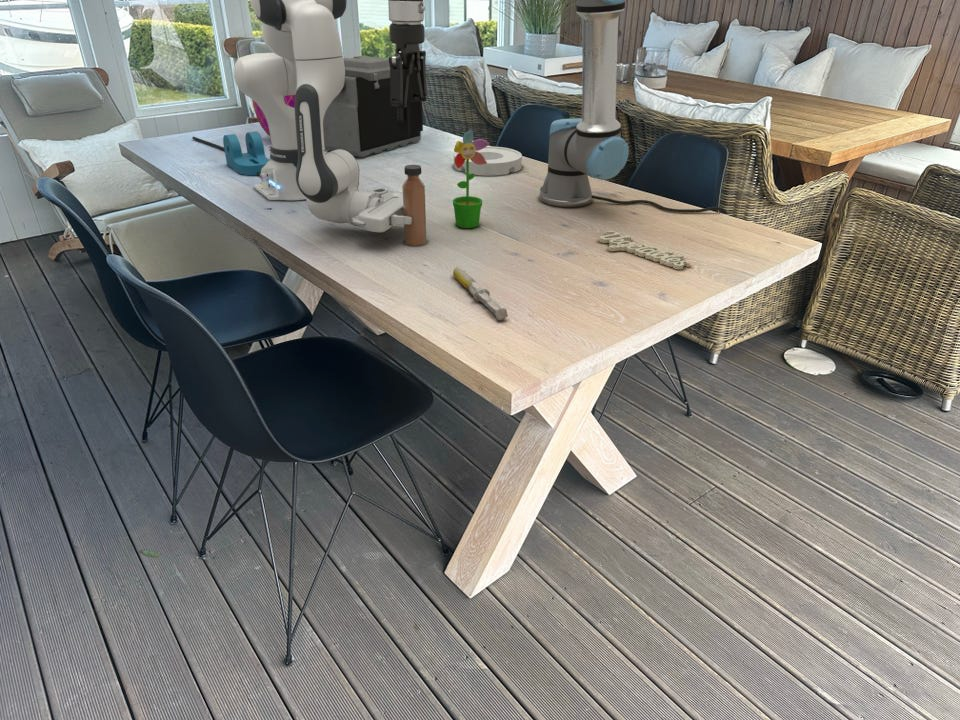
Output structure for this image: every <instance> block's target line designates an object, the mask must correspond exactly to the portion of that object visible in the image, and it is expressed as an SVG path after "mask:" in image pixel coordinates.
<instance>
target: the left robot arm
mask: <svg viewBox="0 0 960 720" xmlns="http://www.w3.org/2000/svg"><path fill="white" fill-rule="evenodd" d="M249 1H250V6H251V8H252V10H253V12H254V14H255V17H256V18H257V19H258V20H259V21H260V22H261V35H262V40H263V42H264V44H265V46H267V48H268V49H269V50H270V51H271V52H260V53H259V52H257V53H252V54H248V55H244V56H240V57H238V58H237V60H236V61H235V64H234V66H233V80H234V82H235V85H236V86H237V88H238V89H239V91H240V92H241V93H242V94H244V95H245V96H247V97H249V98H250V99H251V101H252V100H254V101H255V102H256V103H257V104H258V106H259V107H260V108H261V109H262V111H263V113H264V115H265V117H266V119H267V123H268V127H269V131H270V136H269V137H270V142H271V145H270V146H268V152H269V161H268V162H267V164H266V165H265V166H264V167H263V168H262V169H261V173H260V172H257V175H256V176H258V177H259V178H260V181H261V182H258V183H256V184H255V185H254V189H255V190H256V191H257V192H259V193H260V194H261V195H262V196H264V197H265V198H267V200H269V201H304V200H306V205H307V209H308V211H309V212H310V214H311V215H312V216H314V217H315V218H317V219H319V220H322V221H325V222H331V223H335V224H350V225H352V226H356V227H359V229H361V230H364V231H368V232H372V233H380V234H381V233H385V232H387V231H388V230H389V229H390V228H392V227H393V226H400V225H404V224H408V225H410V224H412V223H413V216H409V215H406V216H404V211H403V192H399V191H389V189H388V188H378V189H374V190H361V189H360V190H359V185H360V165H359V162H358V160H357V158H356V156H353V155H352V154H351V153H350V152H348V151H346V150H343V149H336V150H334V151H329V152H326V149H325V147H324V132H323V119H324V115H325V112H326V110H327V108H328V107H329V105H330V104H331V102H332V101H333V100H334V99H335V98H336V97H337V95H338V94H339V93H340V92H341V90H342V88H343V86H344V82H345V65H344V58H345V57H344V52H343V47H342V41H341V37H340V33H339V30H338V26H337V23H336V20H337V19H340V18H342V17H343V16H344V14H345V12H346V9H347V4H348V3H347V0H249ZM286 95H295V108H293V107H290V106H288V105H286V104H285V101H284V96H286ZM192 140H193V141H198V142H200V143H203V144H206V145H208V146H211V147H214V148H216V149H219V150H222V151H223V152H225V150H224V146H221V145H219V144H216V143H213V142H210V141H208V140H205V139H202V138H199V137H196V136H192Z"/></svg>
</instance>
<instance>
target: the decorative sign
mask: <svg viewBox="0 0 960 720" xmlns="http://www.w3.org/2000/svg"><path fill="white" fill-rule="evenodd" d="M599 243H602V244H608V245H609V246H608V252H619V251H623V252H625V251H626V252H627V253H630V254H634V255H635V256H638V257H640V258H645V259H646V260H651V261H653V262H659V264H661V265H665V266H666V267H671V268H672V269H674V270H683V269H684V267H686V268H689V267H690V261H689V260H685V259H684V258H685V257H684V254H675V253H674V251H672V250H664V251H659V250H658V247H655V246H654V245H648V244H646V243H643V244H638V243H636V242H632V236H631V235H622V236H620V232H618V231H614V230H606V234H605V235H601V236H600V237H599Z"/></svg>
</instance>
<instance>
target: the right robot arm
mask: <svg viewBox="0 0 960 720" xmlns="http://www.w3.org/2000/svg"><path fill="white" fill-rule="evenodd" d="M387 1H388V5H387V6H388V20H389V21H390V22H391V23H389V27H388V28H389V41H390V42H391V43H392V44H395V52H394V55H389V56H388V59H389V65H390V103H391V105H392V106H395V107H396V111H397V134H398V136H399V137H410V130H409V107H406V105H407V96H408V86H409V84H410V89H411V95H412V100H414V101H410V107H411V130H412V131H421V132H423V131H424V123H423V122H424V117H423V116H424V115H423V102H427V101H428V100H427V96H428V90H427V89H428V85H427V70H426V58H427V51H426V50H421V49H420V45H421V44H424V42H425V41H426V40H425V39H426V36H425V35H426V34H425V33H426V32H425V25H424V24H423V23H422V22H424V20H425V10H426V6H425V5H424V3H425V2H424V1H425V0H387ZM575 5H576V6H575V8H576V11H575V12H576V15H578V16H579V17H580V19H581V21H582V45H581V46H582V47H581V49H582V56H581V57H582V58H581V59H582V61H581V62H582V64H581V65H582V66H581V68H582V72H581V75H582V76H581V78H582V79H581V80H582V81H581V91H582V92H581V118H580V117H578V118H576V117H575V118H574V117H573V118H562V119H556V120H553V122H551V124H550V127H549V128H550V129H549V134H548V136H549V141H548V142H549V143H548V156H547V157H548V159H547V173H546V176H545V178H544V181H543V184H542V186H541V187H540V189H539V200H540V202H542V203H543V204H546V205H549V206H553V207H558V208H559V207H560V208H580V207H584V206H588V205H589V204H591V203H592V199H594V200H600V201H604V202H609V203H612V204H617V205H631V204H647V205H652V206H654V207H656V208H658V209H660V210H662V211H667V212H671V213H704V212H709V211H720V212H722V213H723V214H724V215H729V212H728V211H727V210H726V209H724V208H723V207H720V206H709V207H704V208H699V209H698V208H697V209H696V208H695V209H694V208H693V209H691V208H685V209H684V208H672V207H671V208H670V207H666V206H663V205H661V204H659V203H657V202H654V201H651V200H647V199H634V200H616V199H612V198H609V197H603V196H598V195H593V193H592V188H591V184H590V179H589V177H590V178H593V179H597V180H601V181H605V180H610V179H613V178H615V177H616V176H618V174H619V173H620V172H621V170H623V169H624V167H625V166H626V164H627V162H628V158H629V155H630V154H629V153H630V152H629V151H630V149H629V145H628V143H627V142H626V141H625V140H624V138H622V137H621V132H622V131H621V130H622V124H621V122H620V121H618V120H617V118H616V110H617V109H616V108H617V107H616V103H617V75H618V74H617V73H618V71H617V70H618V43H619V42H618V40H619V39H618V35H619V17H620V16H621V14H622V13H623V12H624V11H625V10H626V0H575Z"/></svg>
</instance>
